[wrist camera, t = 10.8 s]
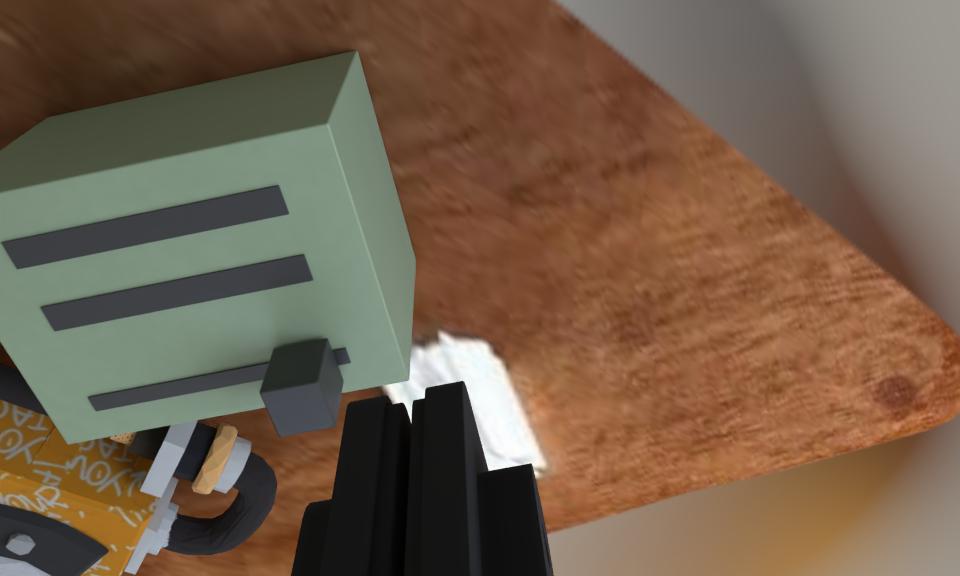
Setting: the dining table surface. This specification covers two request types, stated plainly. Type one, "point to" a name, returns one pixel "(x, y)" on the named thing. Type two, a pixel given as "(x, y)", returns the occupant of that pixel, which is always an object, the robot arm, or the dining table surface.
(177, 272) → the toaster
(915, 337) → the dining table surface
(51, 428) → the device
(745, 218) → the dining table surface
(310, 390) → the slider
